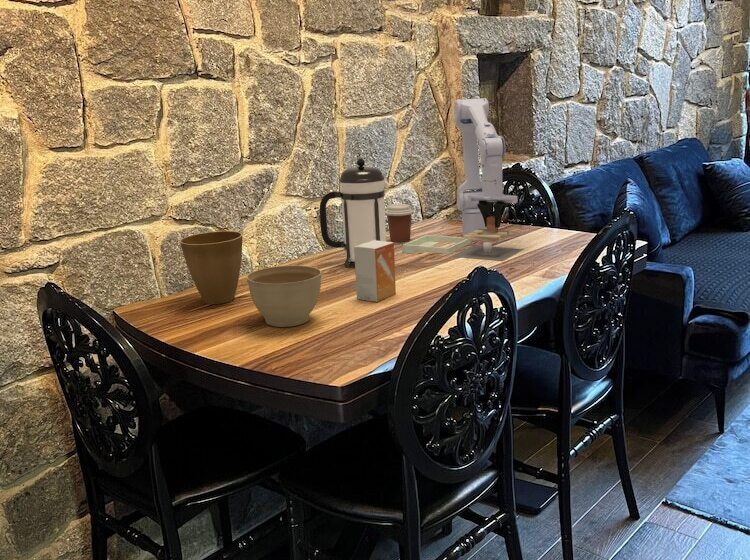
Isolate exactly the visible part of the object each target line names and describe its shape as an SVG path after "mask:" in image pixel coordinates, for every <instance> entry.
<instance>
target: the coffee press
mask: <svg viewBox="0 0 750 560" xmlns="http://www.w3.org/2000/svg"><path fill="white" fill-rule="evenodd" d="M365 163H366V162H365V159H363V158H358V159H357V160H356V164H357V166H358V167H351V168H347V169H345V170H343V171H342V172H341V174H340V177H339V178H338V182H339V183H340V191H330V192H328V193H325V194H324V196H323V197H322V198H321V199H320V203H319V221H320V222H319V224H320V233H321V237H322V240H323V242H324V243H325V244H326V245H327V246H329V247H330V248H331V247H332V248H340V249H341V248H342V249H344V254H345V255H344V257H345V260H344V263H343V267H344V268H347V269H350V268H351V266H352V265H354V264H355V255H354V247H355V246H358V245H361V244H363V243H367V242H370V241H373V240H377V241H386V242H387V235H386V233H387V231H386V215H385V211H386V210H385V197H386V192H385V188H386V187H387V188H389V187H391V185H390V183H389V182H388V180H387V179H386V177H385V175H384V174H383V171H382V170H381V169H379V168H377V167H372V166H369V167H368V166H364V165H365ZM335 198H340V199H341V209H342V226H343V228H342V230H343V241H334V240H332V239H331V238H330V236H329V233H328V220H327V219H328V218H327V204H328V202H329V201H330V199H331V200H332V199H335Z"/></svg>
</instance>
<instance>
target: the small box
mask: <svg viewBox="0 0 750 560" xmlns="http://www.w3.org/2000/svg"><path fill="white" fill-rule="evenodd" d="M354 255H355V263H354V268H355V269H354V271H355V289H356V291H355V293H356V299H357V300H362V301H368V302H374V303H375V302H376V303H378V302H381V301H383V300H385V299H386V298H390V297H391V296H394V295H396V294H397V292H396V291H397V290H396V288H397V287H396V268H395V267H396V266H395V265H396V264H395V263H396V262H395V261H396V260H395V259H396V258H395V244H394V242H390V241H387V240H386V241H377V240H373V241H370V242H367V243H363V244H361V245H358V246H355V247H354Z"/></svg>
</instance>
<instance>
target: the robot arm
mask: <svg viewBox="0 0 750 560" xmlns="http://www.w3.org/2000/svg"><path fill="white" fill-rule="evenodd" d="M489 111H490V104H489V100H488V99H487V98H486V97H482V98H468V99H467V98H466V99H465V98H464V99H460V98H457V99H456V100H455V102H454V109H453V112H454V124H455V127H456V128H458V129H460V133H461V137H462V141H461V142H462V151H463V152H462V154H463V167H464V168H463V169H464V170H463V171H464V181H463V182H462V183H461V184H460V185H459V186H458V187H457V189H456V206H457V209H458V210H459V212H462V213H461V216H462V218H461V219H462V221H461V222H462V223H461V224H462V225H461V226H462V237H463V238H464V235H466V234H468V233H471V232H473V231H475V230H477V229H487V217H489V216H491V211H492V207H493V211H494V216H495V228H498V229H499V228H500V227H501V223H502V218H503V215H504V213H505V211H506V209H507V207H508V204H517V203H518V195H509V194H503V158H504V157H505V154H506V142H505V139H504V137H503V136H501V135H498V133H497V131H496V129H495V126H494V125H493V124H492V123H491V122H488V121H489V120H488V116H489V114H490V113H489ZM478 145H479V146H478ZM478 147H479V148H478ZM479 156H480V159H479ZM479 160H480V163H479ZM480 164H481V173H482V174H481V175H482V177H480V176H481V175H480ZM480 178H481V179H482V180H481V179H480ZM482 235H488V234H482Z"/></svg>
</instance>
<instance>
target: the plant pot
mask: <svg viewBox="0 0 750 560" xmlns="http://www.w3.org/2000/svg"><path fill="white" fill-rule="evenodd" d="M179 244H180V247H181V251H182V254H183V258H184V260H185V264H186V266H187V269H188V271H189V273H190V276H191V278H192V281H193V283H194V286H195V288H196V290H197V292H198V293H199V295H200V296H201V299H202V300H203V302H204V303H205V304H206V305H207V304H208V305H219V304H226V303H229V302H232V301H233V300H234V299H235V296H236V292H237V289H238V285H239V279H240V273H241V268H242V267H241V265H242V257H243V233H242V232H240V231H234V230H218V231H208V232H206V231H205V232H201V233H195V234H192V235H191V234H190V235H188V236H185V237H183V238H181V239H180V240H179Z"/></svg>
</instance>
